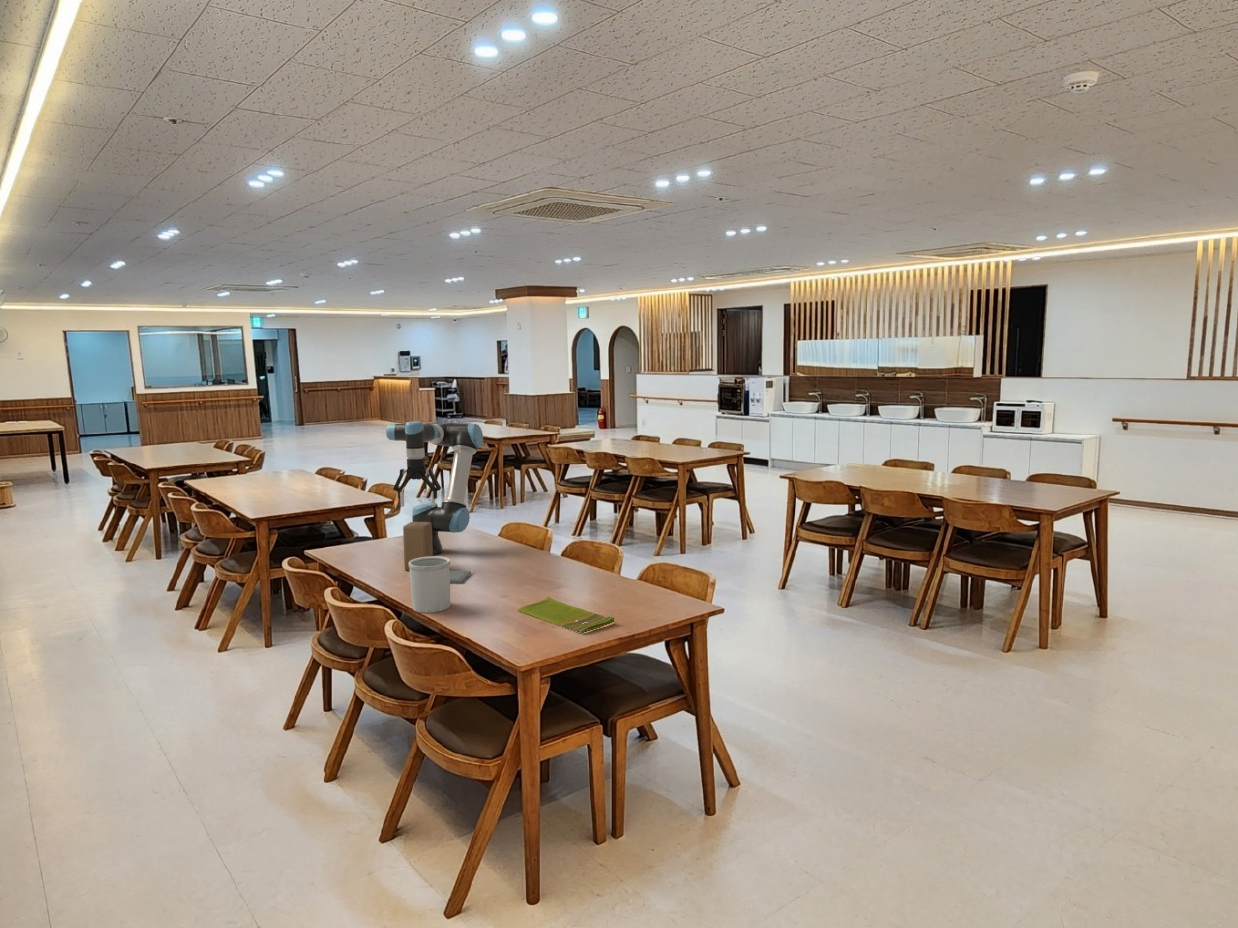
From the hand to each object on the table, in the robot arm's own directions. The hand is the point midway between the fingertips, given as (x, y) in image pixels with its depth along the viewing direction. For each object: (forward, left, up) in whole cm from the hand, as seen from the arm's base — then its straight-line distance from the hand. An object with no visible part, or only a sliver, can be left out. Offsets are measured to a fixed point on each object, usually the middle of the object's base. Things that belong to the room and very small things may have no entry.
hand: (418, 506), depth 341 cm
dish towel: (+62, +72, -29) cm, 99 cm away
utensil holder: (+53, +21, -28) cm, 64 cm away
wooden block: (-2, -1, -28) cm, 28 cm away
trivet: (+13, +16, -28) cm, 35 cm away
